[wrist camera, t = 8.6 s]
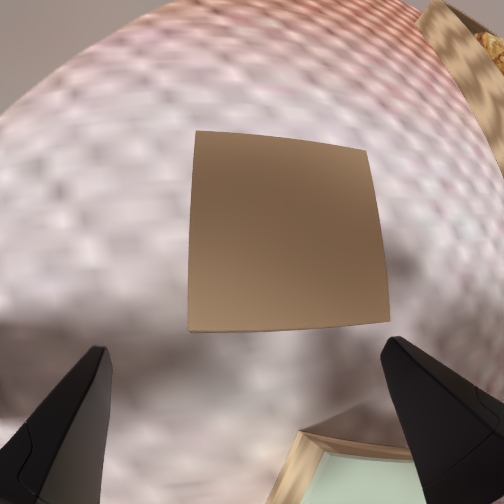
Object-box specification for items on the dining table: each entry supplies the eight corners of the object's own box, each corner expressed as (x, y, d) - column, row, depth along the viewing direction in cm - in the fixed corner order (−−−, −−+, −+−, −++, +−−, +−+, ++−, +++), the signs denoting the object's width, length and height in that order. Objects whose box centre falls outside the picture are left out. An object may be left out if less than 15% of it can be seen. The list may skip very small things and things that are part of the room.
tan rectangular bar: (255, 332, 19) (390, 321, 6) (190, 332, 18) (187, 330, 5) (253, 270, 20) (366, 150, 7) (191, 268, 19) (195, 130, 6)
